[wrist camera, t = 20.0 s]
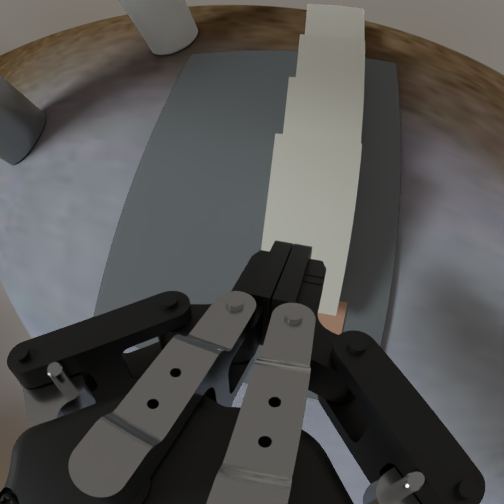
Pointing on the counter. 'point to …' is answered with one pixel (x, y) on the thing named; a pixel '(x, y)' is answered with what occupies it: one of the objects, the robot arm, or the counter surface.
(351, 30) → the domino
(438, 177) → the counter surface
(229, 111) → the slate mat
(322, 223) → the domino
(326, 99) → the domino
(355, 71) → the domino
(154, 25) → the can
